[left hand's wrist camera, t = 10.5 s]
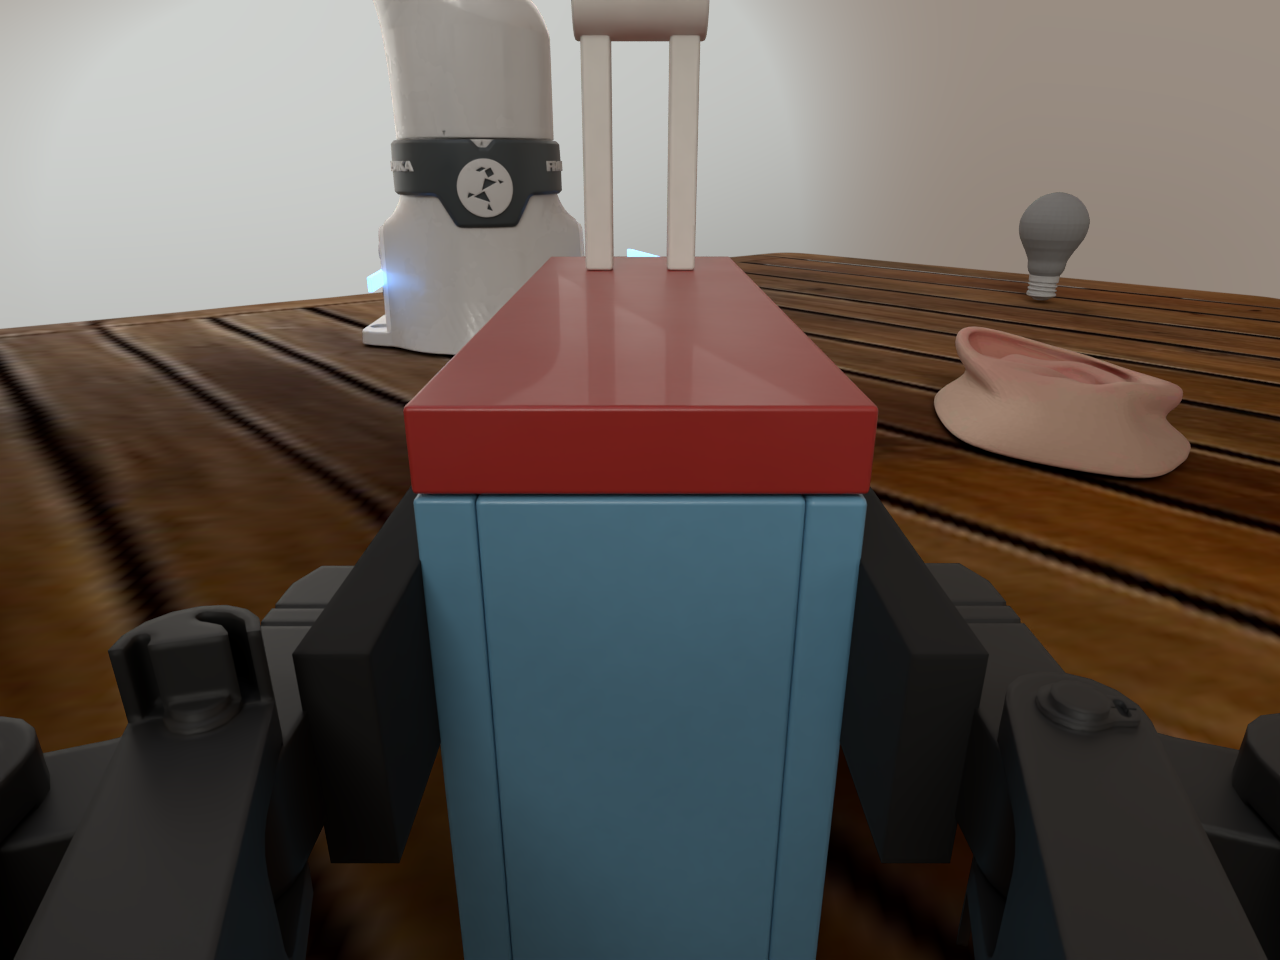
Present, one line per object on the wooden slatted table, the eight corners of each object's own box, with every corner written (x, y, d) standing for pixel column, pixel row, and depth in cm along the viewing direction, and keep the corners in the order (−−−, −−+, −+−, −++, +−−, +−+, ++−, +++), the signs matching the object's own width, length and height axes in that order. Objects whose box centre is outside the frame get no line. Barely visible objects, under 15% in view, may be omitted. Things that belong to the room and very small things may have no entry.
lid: (551, 293, 24) (539, -17, 21) (728, 293, 24) (740, -17, 21) (410, 496, 9) (305, -443, 6) (870, 496, 9) (978, -443, 6)
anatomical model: (1250, 396, 32) (941, 372, 35) (1223, 490, 33) (929, 457, 37) (1170, 334, 43) (944, 321, 47) (1153, 405, 45) (935, 387, 48)
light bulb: (1020, 304, 77) (1039, 193, 73) (998, 294, 82) (1015, 191, 79) (1085, 304, 76) (1107, 193, 73) (1058, 295, 82) (1078, 191, 78)
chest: (560, 571, 27) (548, 298, 24) (719, 571, 27) (731, 298, 24) (471, 1026, 13) (411, 500, 9) (810, 1026, 13) (869, 500, 9)
